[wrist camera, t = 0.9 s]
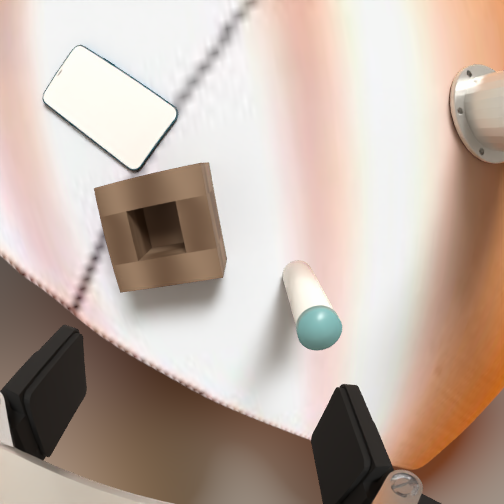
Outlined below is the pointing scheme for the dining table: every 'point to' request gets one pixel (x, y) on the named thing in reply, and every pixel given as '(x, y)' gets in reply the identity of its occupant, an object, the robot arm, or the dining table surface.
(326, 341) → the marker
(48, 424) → the robot arm
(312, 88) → the dining table surface
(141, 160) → the smartphone
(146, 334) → the dining table surface
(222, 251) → the socket block
